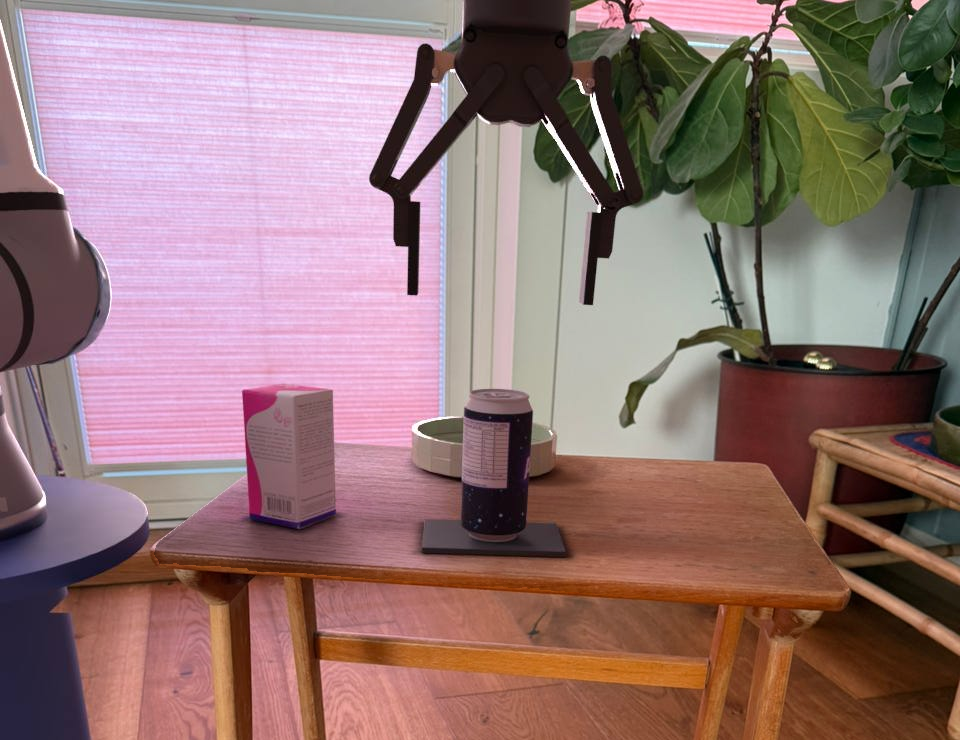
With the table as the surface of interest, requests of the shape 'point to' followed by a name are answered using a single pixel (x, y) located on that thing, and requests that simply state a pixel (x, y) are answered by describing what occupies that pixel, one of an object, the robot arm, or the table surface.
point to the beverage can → (496, 464)
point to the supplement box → (290, 454)
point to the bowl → (443, 447)
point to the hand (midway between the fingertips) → (499, 299)
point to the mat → (458, 541)
